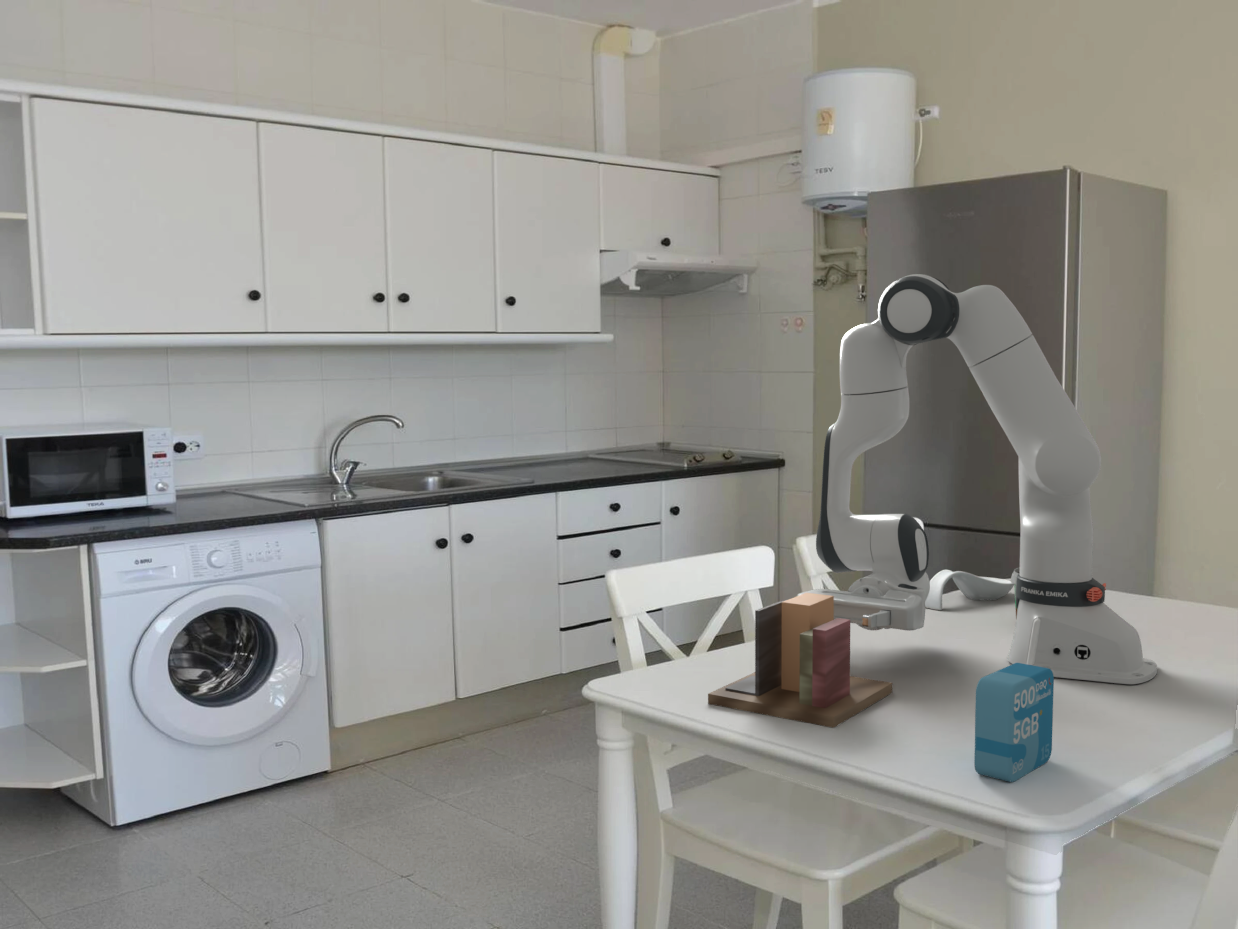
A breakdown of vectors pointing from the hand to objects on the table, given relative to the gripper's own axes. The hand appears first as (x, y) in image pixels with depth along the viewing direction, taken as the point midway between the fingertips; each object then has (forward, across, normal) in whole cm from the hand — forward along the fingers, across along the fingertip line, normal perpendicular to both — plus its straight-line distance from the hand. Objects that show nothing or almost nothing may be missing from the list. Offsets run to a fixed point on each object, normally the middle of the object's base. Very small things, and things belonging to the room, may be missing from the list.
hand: (838, 618), depth 186 cm
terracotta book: (+10, 0, +8) cm, 13 cm away
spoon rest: (-67, -3, +10) cm, 68 cm away
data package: (+24, +35, +10) cm, 44 cm away
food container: (-54, +13, +10) cm, 56 cm away
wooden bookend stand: (+12, 0, +10) cm, 16 cm away
